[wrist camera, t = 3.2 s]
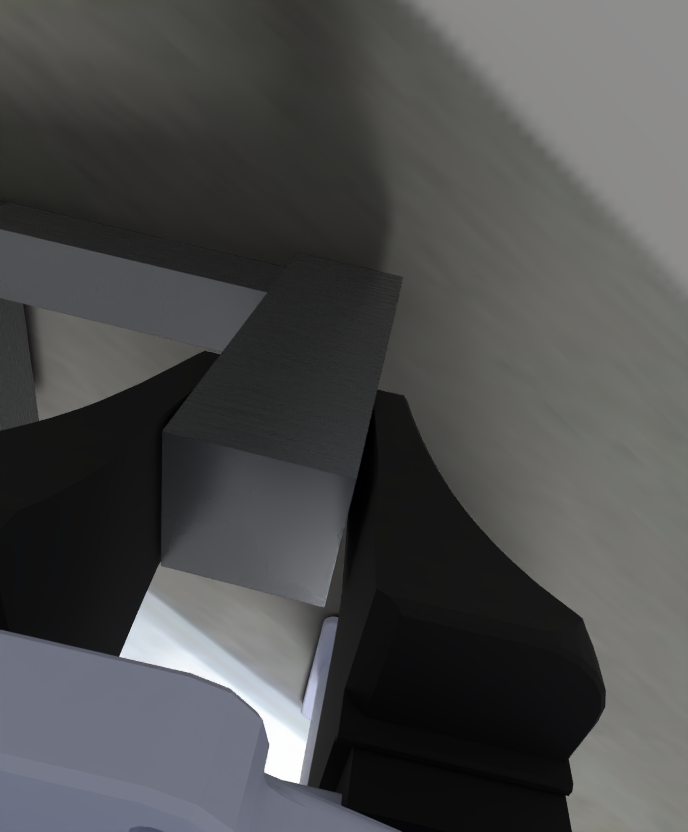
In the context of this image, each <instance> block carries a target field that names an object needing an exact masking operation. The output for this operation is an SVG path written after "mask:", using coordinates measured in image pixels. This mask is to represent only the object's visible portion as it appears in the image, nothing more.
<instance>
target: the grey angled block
mask: <svg viewBox="0 0 688 832" xmlns="http://www.w3.org/2000/svg"><path fill="white" fill-rule="evenodd" d="M402 279H403V277H400V276H396V275H392V274H387V273H383V272H379V271H375V270H370V269H366V268H362V267H358V266H353V265H349V264H345V263H340V262H336V261H332V260H328V259H323V258H319V257H315V256H311V255H306V254H302V253H297V254H296V255H295V257H294V258H293V259H292V261H291V262H290V263H289V265H288V266H287V267H282V266H278V265H273V264H269V263H265V262H261V261H256V260H252V259H248V258H244V257H239V256H235V255H231V254H227V253H223V252H218V251H214V250H210V249H206V248H201V247H197V246H193V245H189V244H184V243H180V242H176V241H172V240H167V239H163V238H159V237H155V236H150V235H146V234H142V233H138V232H133V231H129V230H125V229H121V228H116V227H112V226H108V225H104V224H99V223H95V222H91V221H87V220H82V219H78V218H74V217H70V216H65V215H61V214H57V213H53V212H48V211H44V210H40V209H36V208H31V207H27V206H23V205H19V204H14V203H10V202H6V201H2V200H0V431H1V430H5V429H9V428H13V427H17V426H21V425H25V424H29V423H33V422H37V421H39V418H38V410H37V403H36V396H35V388H34V381H33V373H32V366H31V359H30V351H29V344H28V336H27V329H26V321H25V314H24V307H23V304H27V305H31V306H35V307H39V308H43V309H47V310H52V311H56V312H60V313H64V314H68V315H72V316H76V317H81V318H85V319H89V320H93V321H97V322H101V323H105V324H110V325H114V326H118V327H122V328H126V329H130V330H134V331H138V332H143V333H147V334H151V335H155V336H159V337H163V338H167V339H172V340H176V341H180V342H184V343H188V344H192V345H196V346H201V347H205V348H209V349H213V350H217V351H221V352H222V353H221V354H220V356H219V357H218V358H217V360H216V361H215V362H214V363H213V365H212V366H211V367H210V369H209V370H208V371H207V373H206V374H205V375H204V377H203V378H202V379H201V381H200V382H199V383H198V385H197V386H196V387H195V389H194V390H193V391H192V392H191V394H190V395H189V396H188V398H187V399H186V400H185V402H184V403H183V404H182V406H181V407H180V408H179V410H178V411H177V412H176V414H175V415H174V416H173V417H172V419H171V420H170V421H169V423H168V424H167V425H166V427H165V428H164V429H163V431H162V514H161V566H164V567H168V568H172V569H176V570H180V571H183V572H187V573H191V574H195V575H199V576H203V577H207V578H211V579H215V580H219V581H222V582H226V583H230V584H234V585H238V586H242V587H246V588H250V589H254V590H258V591H261V592H265V593H269V594H273V595H277V596H281V597H285V598H289V599H293V600H297V601H300V602H304V603H308V604H312V605H316V606H320V607H325V603H326V599H327V595H328V591H329V587H330V583H331V579H332V575H333V571H334V567H335V563H336V559H337V555H338V551H339V547H340V543H341V539H342V535H343V531H344V527H345V523H346V519H347V515H348V511H349V507H350V503H351V499H352V495H353V492H354V488H355V484H356V480H357V475H358V471H359V467H360V462H361V458H362V453H363V449H364V445H365V440H366V436H367V432H368V427H369V423H370V419H371V414H372V410H373V406H374V401H375V397H376V393H377V388H378V384H379V379H380V375H381V371H382V366H383V362H384V358H385V353H386V349H387V345H388V340H389V336H390V332H391V327H392V323H393V319H394V314H395V310H396V305H397V301H398V297H399V292H400V288H401V284H402Z"/></svg>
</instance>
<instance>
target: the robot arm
mask: <svg viewBox="0 0 688 832" xmlns="http://www.w3.org/2000/svg"><path fill="white" fill-rule="evenodd" d="M219 356H220V354H216V353H212V352H207V351H204V352H201V353H199V354H197V355H195V356H193V357H191V358H189V359H187V360H185V361H183V362H181V363H179V364H178V365H176V366H174V367H172V368H170V369H168V370H166V371H164V372H162V373H160V374H158V375H156V376H154V377H152V378H150V379H148V380H146V381H144V382H142V383H140V384H138V385H136V386H133V387H131V388H129V389H126V390H124V391H122V392H120V393H117V394H115V395H113V396H110V397H108V398H106V399H104V400H101V401H99V402H96V403H94V404H91V405H88V406H85V407H83V408H80V409H77V410H74V411H71V412H68V413H65V414H62V415H59V416H56V417H52V418H49V419H45V420H41V421H37V422H33V423H29V424H25V425H21V426H17V427H13V428H9V429H5V430H1V431H0V832H572V830H571V825H570V819H569V813H568V807H567V802H566V796H565V795H567V796H569V795H570V794H571V792H572V790H573V780H572V775H571V769H570V764H569V758H570V756H571V755H572V754H573V752H574V751H575V750H576V749H577V747H578V746H579V745H580V743H581V742H582V741H583V740H584V738H585V737H586V736H587V735H588V733H589V732H590V731H591V729H592V728H593V727H594V726H595V724H596V723H597V722H598V720H599V718H600V716H601V714H602V712H603V710H604V708H605V696H606V690H605V686H604V682H603V678H602V675H601V671H600V667H599V663H598V660H597V657H596V654H595V651H594V648H593V645H592V642H591V640H590V637H589V635H588V632H587V630H586V627H585V624H584V621H583V619H582V618H581V617H580V616H579V615H577V614H576V613H575V612H574V611H572V610H571V609H570V608H568V607H567V606H566V605H564V604H563V603H562V602H560V601H559V600H558V599H557V598H555V597H554V596H553V595H551V594H550V593H549V592H547V591H546V590H545V589H544V588H542V587H541V586H540V585H538V584H537V583H536V582H535V581H534V580H532V579H531V578H530V577H529V576H528V575H527V574H526V573H525V572H524V571H522V570H521V569H520V568H519V567H518V566H517V565H516V564H515V563H513V562H512V561H511V560H510V559H509V558H508V557H507V556H506V555H505V554H504V553H503V552H502V551H501V550H500V549H499V548H498V547H497V546H496V545H495V544H494V543H493V542H492V541H491V540H490V538H489V537H488V536H487V535H486V534H485V533H484V532H483V531H482V530H481V529H480V528H479V526H478V525H477V524H476V523H475V522H474V521H473V519H472V518H471V517H470V516H469V515H468V513H467V512H466V511H465V509H464V508H463V507H462V505H461V504H460V503H459V501H458V500H457V499H456V497H455V496H454V495H453V493H452V492H451V490H450V489H449V487H448V486H447V484H446V482H445V481H444V479H443V477H442V476H441V474H440V472H439V471H438V469H437V467H436V465H435V464H434V462H433V460H432V458H431V456H430V454H429V452H428V450H427V448H426V446H425V444H424V442H423V440H422V438H421V436H420V433H419V431H418V429H417V426H416V424H415V421H414V419H413V416H412V414H411V411H410V408H409V405H408V402H407V400H406V398H405V397H404V396H403V395H399V394H394V393H390V392H385V391H381V390H377V393H376V397H375V401H374V406H373V410H372V414H371V419H370V423H369V427H368V432H367V436H366V440H365V445H364V449H363V453H362V458H361V462H360V467H359V471H358V475H357V480H356V484H355V488H354V492H353V495H352V499H351V503H350V507H349V511H348V521H347V534H346V547H345V560H344V573H343V586H342V596H341V604H340V612H339V617H328V618H326V619H325V620H324V622H323V626H322V630H321V634H320V638H319V642H318V646H317V650H316V653H315V657H314V661H313V665H312V669H311V673H310V677H309V681H308V685H307V689H306V693H305V696H304V700H303V704H302V709H301V714H302V715H303V717H305V718H307V719H310V720H311V722H310V728H309V733H308V739H307V744H306V750H305V756H304V761H303V767H302V772H301V778H300V783H299V784H297V783H292V782H288V781H284V780H280V779H278V778H276V777H273V776H271V775H269V774H266V773H264V768H265V763H266V758H267V754H268V749H269V742H268V739H267V735H266V731H265V727H264V724H263V720H262V718H261V717H260V716H259V714H258V713H257V712H256V711H255V710H254V709H253V708H252V707H251V706H249V705H248V704H247V703H246V702H245V701H244V700H243V699H241V698H240V697H239V696H238V695H237V694H236V693H234V692H233V691H232V690H231V689H229V688H227V687H224V686H222V685H219V684H217V683H214V682H212V681H209V680H206V679H204V678H201V677H199V676H196V675H194V674H191V673H187V672H183V671H178V670H174V669H169V668H165V667H161V666H156V665H152V664H148V663H143V662H139V661H135V660H130V659H126V658H121V657H119V655H120V653H121V651H122V648H123V646H124V643H125V641H126V639H127V636H128V634H129V632H130V629H131V627H132V624H133V622H134V620H135V617H136V615H137V612H138V610H139V608H140V606H141V603H142V601H143V599H144V596H145V594H146V592H147V590H148V587H149V585H150V583H151V581H152V578H153V576H154V574H155V572H156V569H157V567H158V565H159V564H160V562H161V514H162V431H163V429H164V428H165V427H166V425H167V424H168V423H169V421H170V420H171V419H172V417H173V416H174V415H175V414H176V412H177V411H178V410H179V408H180V407H181V406H182V404H183V403H184V402H185V400H186V399H187V398H188V396H189V395H190V394H191V392H192V391H193V390H194V389H195V387H196V386H197V385H198V383H199V382H200V381H201V379H202V378H203V377H204V375H205V374H206V373H207V371H208V370H209V369H210V367H211V366H212V365H213V363H214V362H215V361H216V360H217V358H218V357H219Z"/></svg>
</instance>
